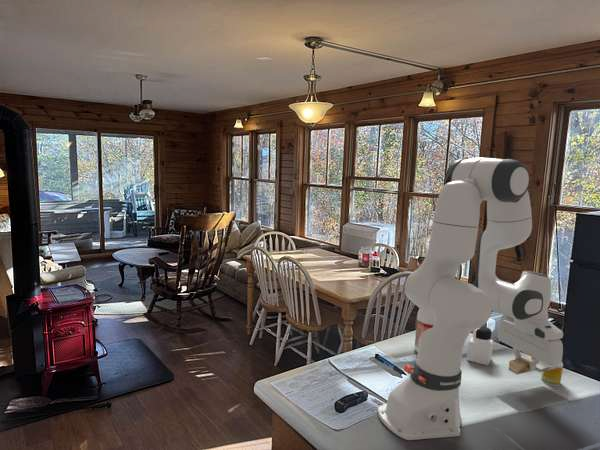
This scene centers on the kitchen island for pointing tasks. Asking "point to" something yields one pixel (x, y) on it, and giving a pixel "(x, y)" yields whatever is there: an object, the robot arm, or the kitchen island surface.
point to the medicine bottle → (480, 346)
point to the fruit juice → (423, 324)
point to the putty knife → (522, 363)
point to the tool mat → (532, 399)
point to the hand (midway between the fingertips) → (524, 366)
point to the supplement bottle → (553, 375)
